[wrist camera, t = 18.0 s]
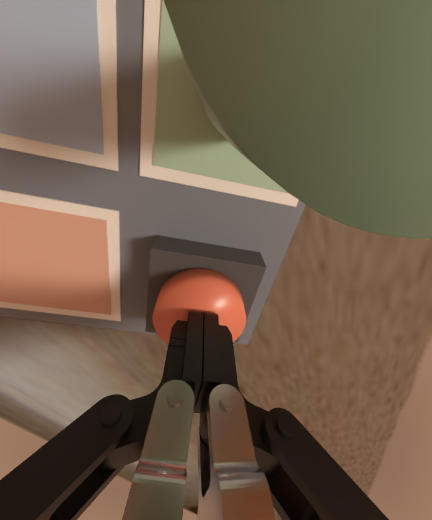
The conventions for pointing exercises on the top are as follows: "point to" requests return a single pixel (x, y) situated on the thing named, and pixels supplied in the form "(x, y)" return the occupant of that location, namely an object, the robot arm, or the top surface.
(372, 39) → the green rounded rod
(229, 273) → the colouring board
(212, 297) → the button
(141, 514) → the robot arm
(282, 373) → the top surface
